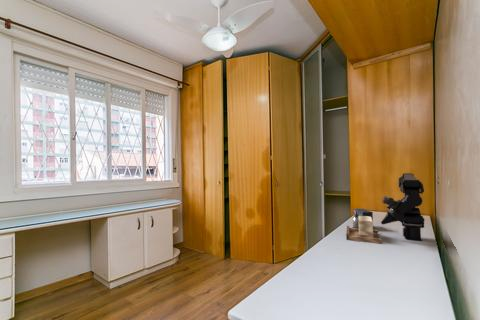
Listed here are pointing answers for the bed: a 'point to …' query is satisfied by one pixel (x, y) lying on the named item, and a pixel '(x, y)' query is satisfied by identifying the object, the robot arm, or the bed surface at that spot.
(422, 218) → the robot arm
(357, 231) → the bay
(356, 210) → the small box
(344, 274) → the bed surface
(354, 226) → the flanged metal cylinder
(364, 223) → the pale wooden box
